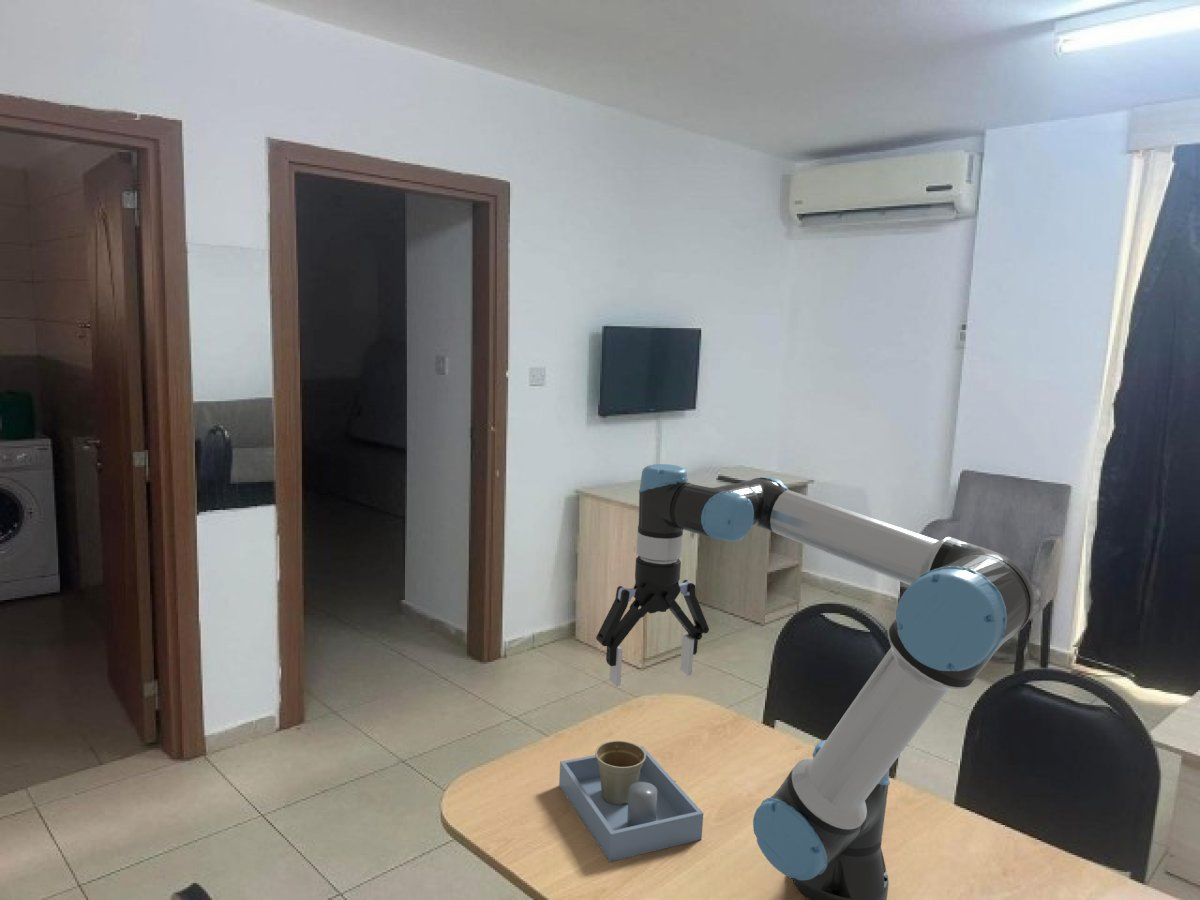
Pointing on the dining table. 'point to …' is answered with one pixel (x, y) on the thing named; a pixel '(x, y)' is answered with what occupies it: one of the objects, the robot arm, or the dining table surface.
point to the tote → (609, 821)
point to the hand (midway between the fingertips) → (651, 677)
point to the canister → (641, 804)
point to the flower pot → (618, 769)
